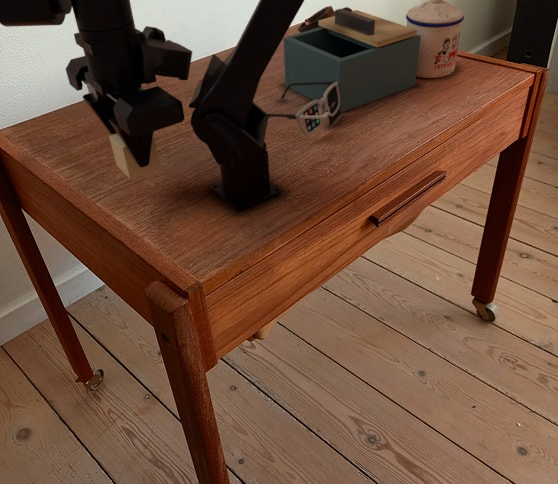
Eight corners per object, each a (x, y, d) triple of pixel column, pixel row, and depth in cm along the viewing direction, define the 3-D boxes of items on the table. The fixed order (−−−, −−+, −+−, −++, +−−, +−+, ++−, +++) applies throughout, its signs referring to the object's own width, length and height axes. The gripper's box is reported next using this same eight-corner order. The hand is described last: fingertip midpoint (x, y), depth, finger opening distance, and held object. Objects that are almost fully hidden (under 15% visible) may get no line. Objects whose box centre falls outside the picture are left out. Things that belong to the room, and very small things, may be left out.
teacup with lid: (440, 83, 95) (451, 6, 87) (391, 72, 99) (397, -2, 92) (472, 60, 102) (484, -13, 94) (424, 51, 106) (433, -20, 99)
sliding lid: (416, 35, 89) (418, 15, 87) (377, 47, 86) (378, 27, 84) (356, 14, 98) (356, -4, 96) (318, 25, 95) (318, 7, 93)
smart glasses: (328, 148, 79) (321, 113, 76) (244, 144, 87) (235, 112, 84) (367, 111, 86) (362, 78, 83) (286, 111, 94) (279, 80, 91)
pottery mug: (339, 64, 104) (316, 22, 100) (306, 76, 112) (283, 37, 108) (376, 28, 109) (355, -14, 105) (342, 41, 116) (321, 3, 113)
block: (160, 167, 71) (154, 137, 68) (129, 178, 69) (122, 147, 66) (146, 155, 73) (139, 125, 71) (116, 165, 72) (108, 135, 69)
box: (415, 85, 95) (420, 35, 90) (338, 113, 88) (340, 61, 83) (358, 62, 104) (360, 15, 99) (285, 86, 97) (283, 37, 92)
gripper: (219, 26, 57) (234, 167, 68) (139, -10, 69) (162, 114, 80) (113, 54, 53) (146, 200, 63) (47, 9, 65) (84, 139, 75)
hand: (136, 159), depth 70 cm, fingers closed on block, 4 cm apart
